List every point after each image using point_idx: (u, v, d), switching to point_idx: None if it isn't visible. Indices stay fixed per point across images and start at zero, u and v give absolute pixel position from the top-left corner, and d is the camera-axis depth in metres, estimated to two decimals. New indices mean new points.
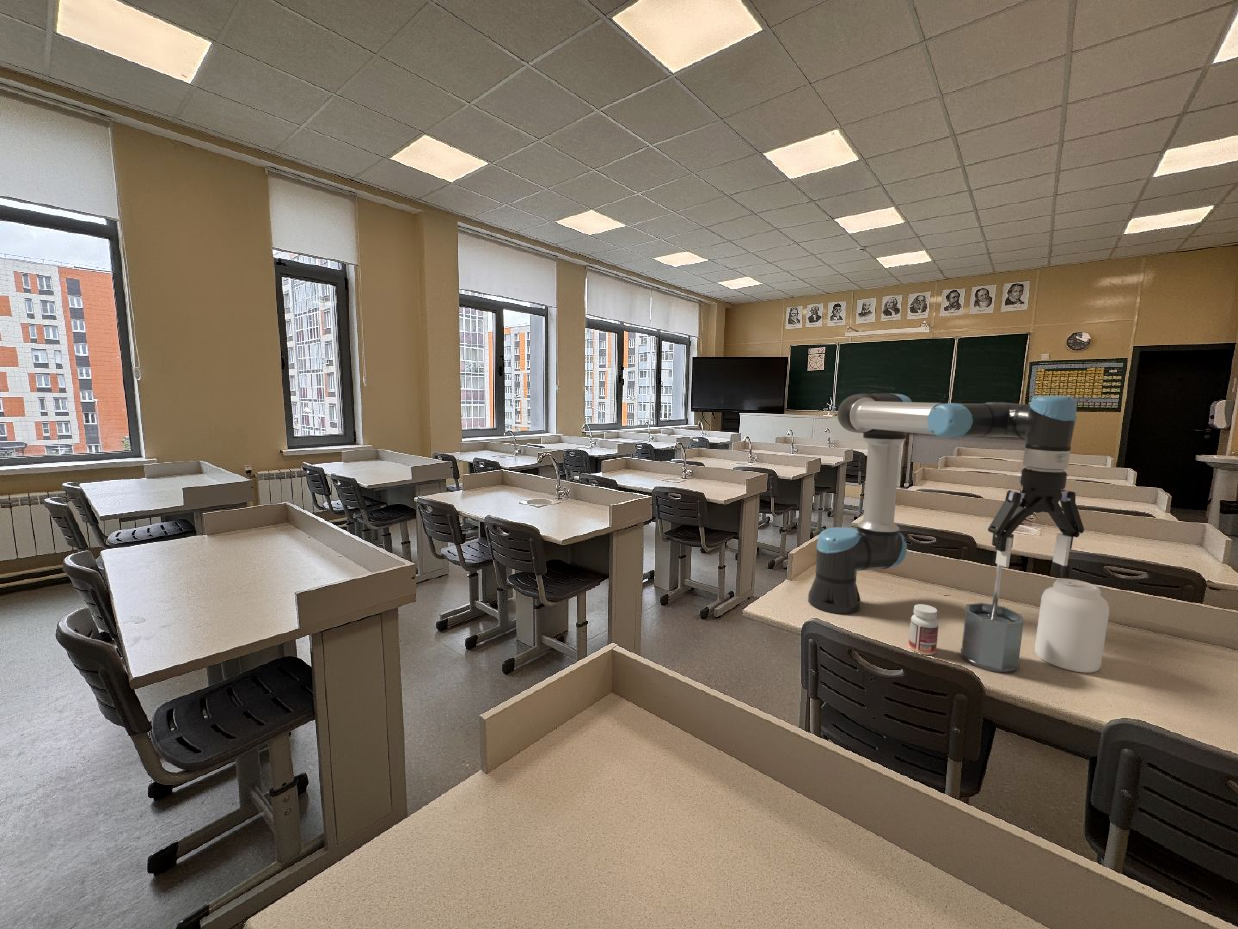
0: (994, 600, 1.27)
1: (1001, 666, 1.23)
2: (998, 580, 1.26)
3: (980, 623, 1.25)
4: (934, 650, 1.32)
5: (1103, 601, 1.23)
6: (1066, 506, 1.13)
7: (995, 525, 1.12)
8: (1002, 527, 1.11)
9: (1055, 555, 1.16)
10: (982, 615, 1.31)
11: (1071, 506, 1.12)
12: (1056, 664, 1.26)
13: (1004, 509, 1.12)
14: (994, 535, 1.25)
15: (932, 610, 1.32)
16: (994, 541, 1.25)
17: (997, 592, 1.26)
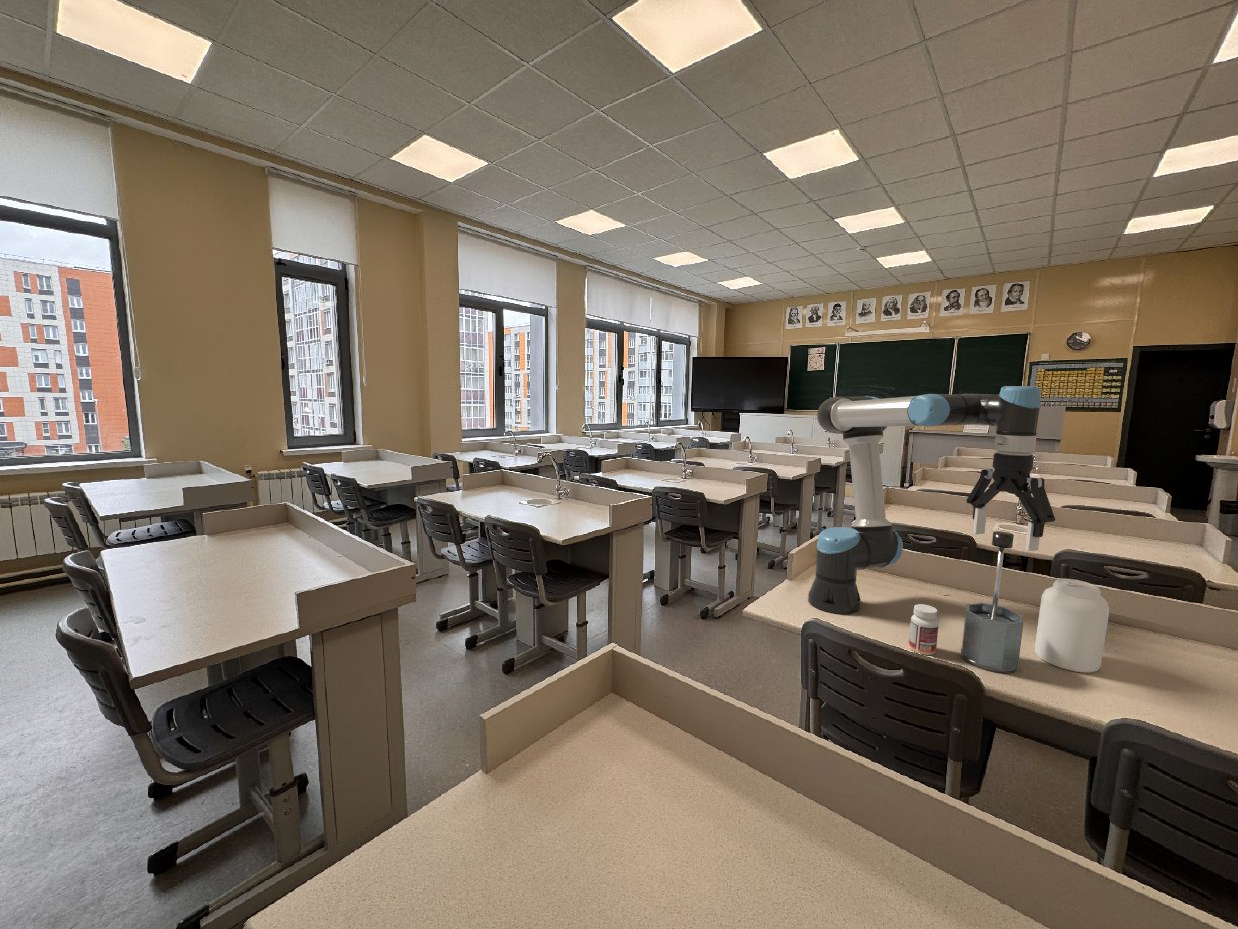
0: (994, 600, 1.27)
1: (1001, 666, 1.23)
2: (998, 580, 1.26)
3: (980, 623, 1.25)
4: (934, 650, 1.32)
5: (1103, 601, 1.23)
6: None
7: None
8: (970, 497, 1.32)
9: None
10: (982, 615, 1.31)
11: (1032, 492, 1.16)
12: (1056, 664, 1.26)
13: None
14: (994, 535, 1.25)
15: (932, 610, 1.32)
16: (994, 541, 1.25)
17: (997, 592, 1.26)
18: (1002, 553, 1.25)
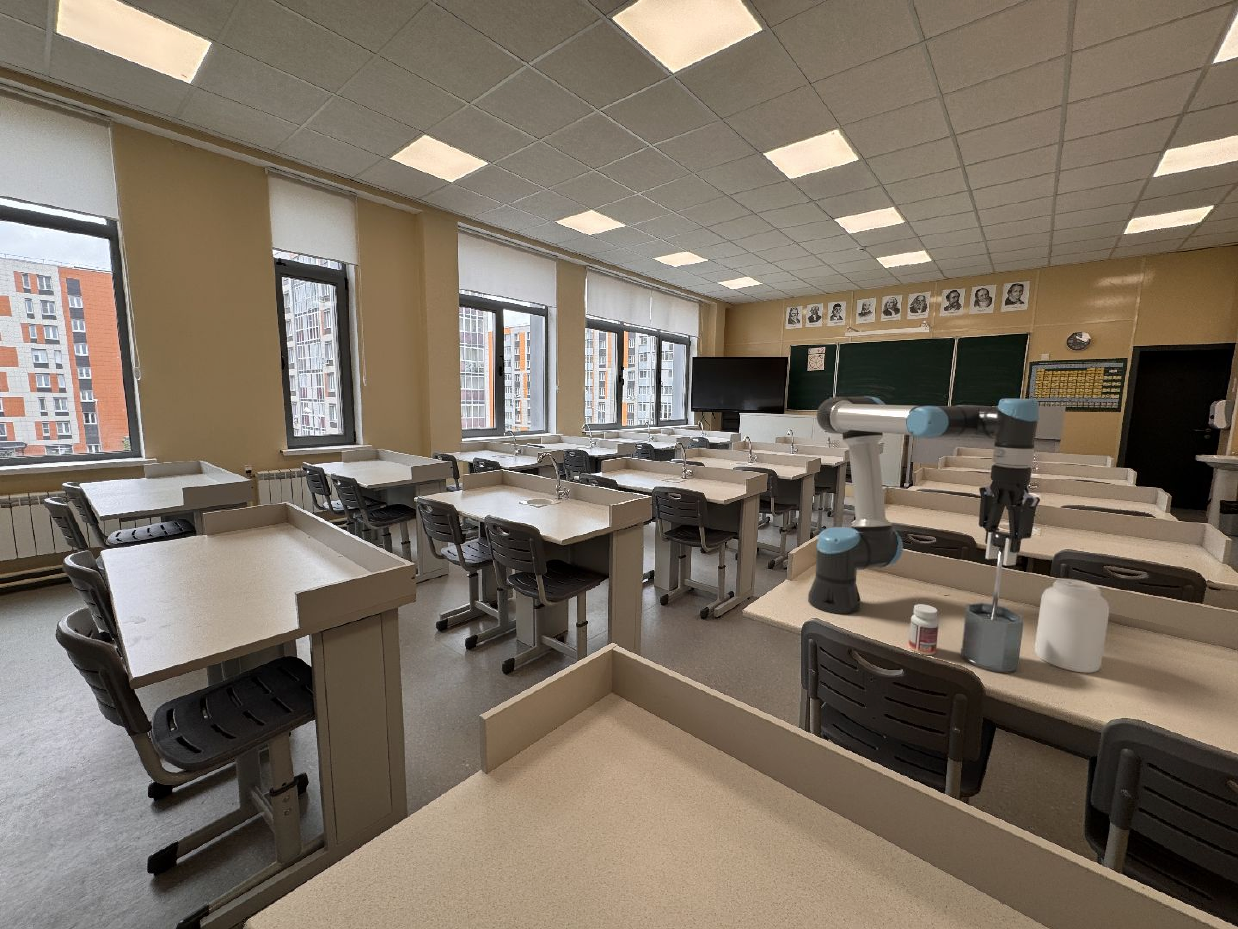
0: (994, 600, 1.27)
1: (1001, 666, 1.23)
2: (998, 580, 1.26)
3: (980, 623, 1.25)
4: (934, 650, 1.32)
5: (1102, 601, 1.23)
6: None
7: None
8: (981, 519, 1.29)
9: None
10: (982, 615, 1.31)
11: (1022, 509, 1.18)
12: (1056, 664, 1.26)
13: None
14: (994, 535, 1.25)
15: (932, 610, 1.32)
16: (994, 541, 1.25)
17: (997, 592, 1.26)
18: (1002, 553, 1.25)
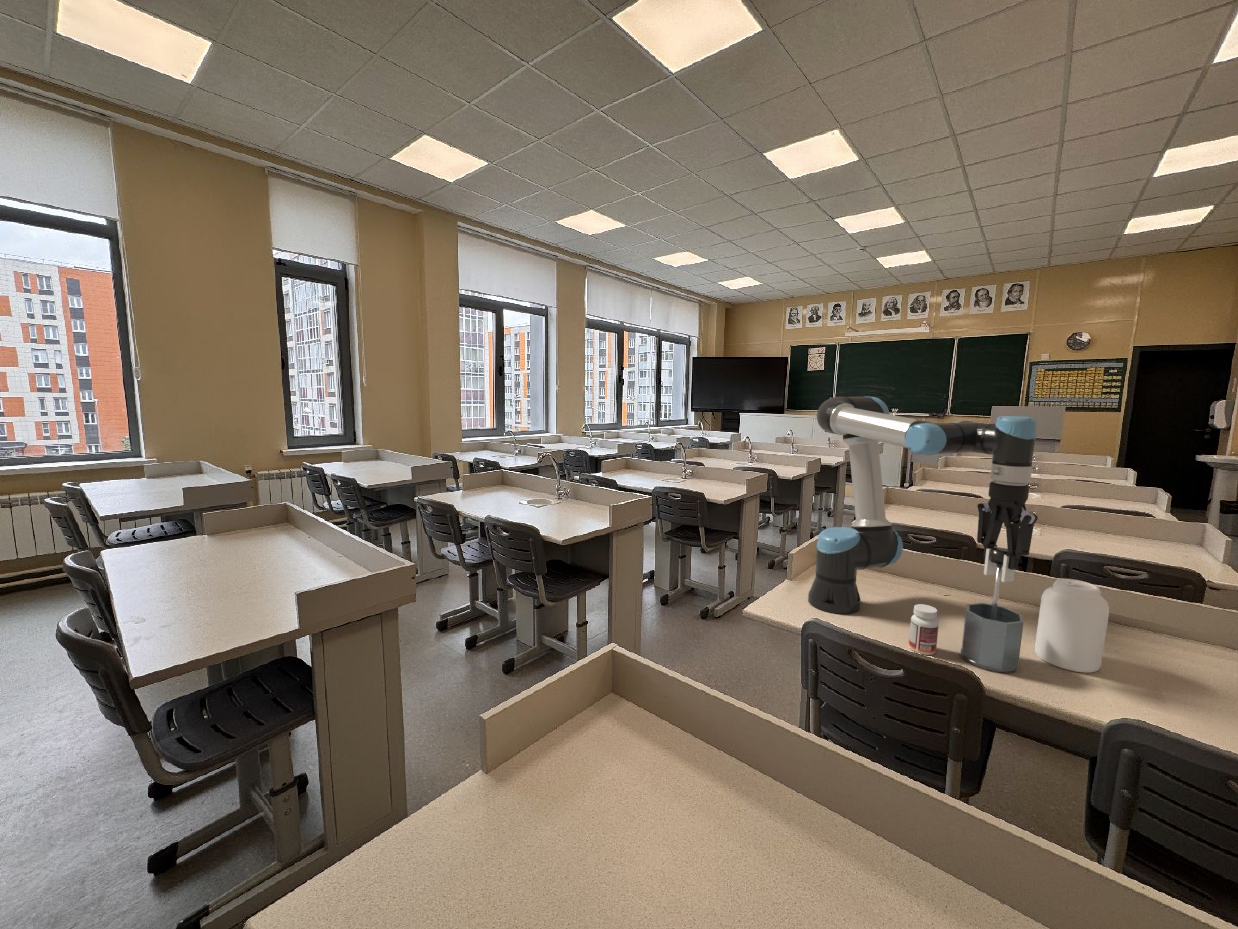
0: (992, 616, 1.27)
1: (1001, 666, 1.23)
2: (996, 596, 1.26)
3: (980, 623, 1.25)
4: (934, 650, 1.32)
5: (1103, 601, 1.23)
6: None
7: None
8: (979, 535, 1.29)
9: None
10: None
11: (1020, 526, 1.19)
12: (1056, 664, 1.26)
13: None
14: (992, 551, 1.25)
15: (932, 610, 1.32)
16: (992, 557, 1.25)
17: (995, 608, 1.27)
18: (1000, 569, 1.25)
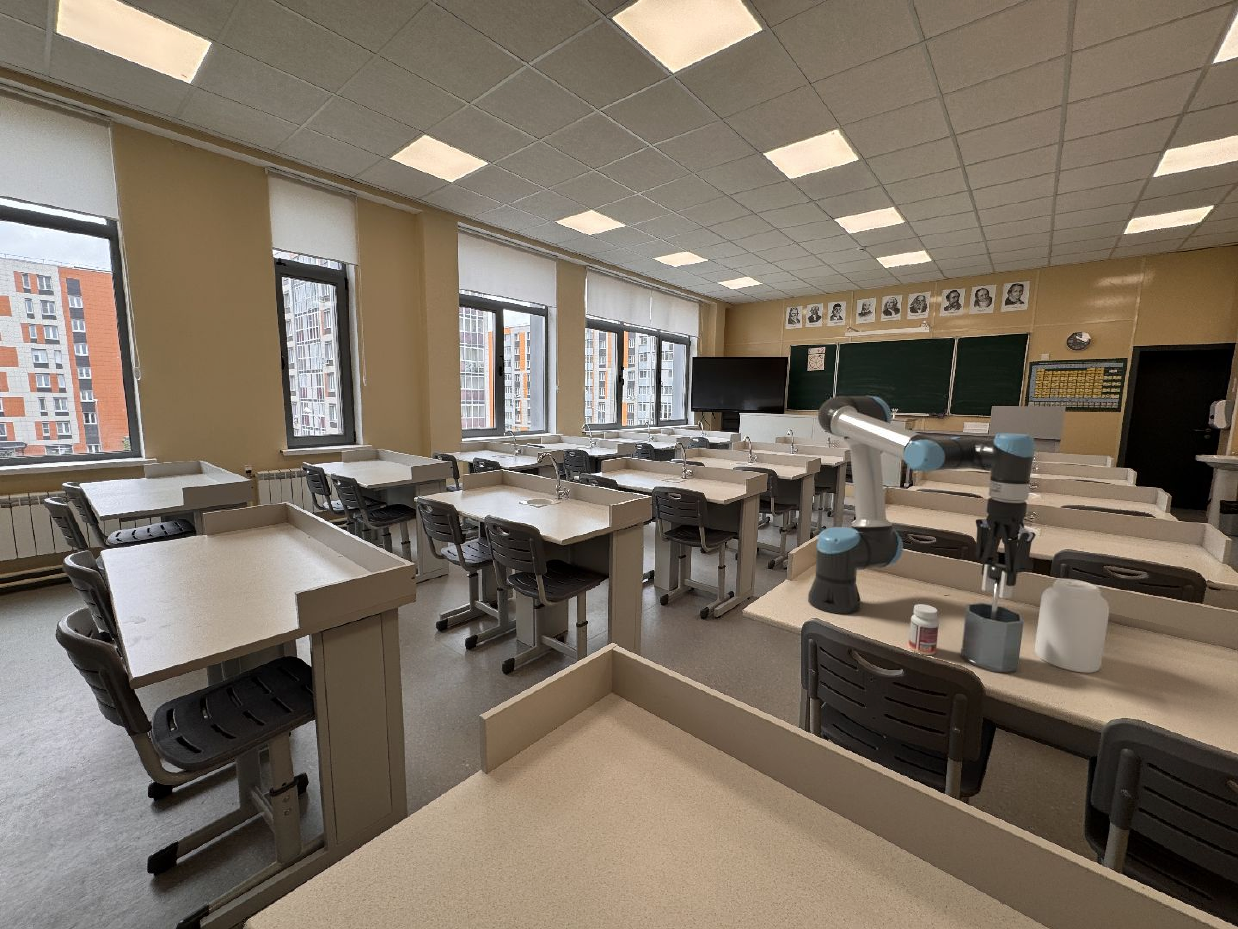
0: None
1: (1001, 666, 1.23)
2: (994, 612, 1.27)
3: (980, 623, 1.25)
4: (934, 650, 1.32)
5: (1103, 601, 1.23)
6: None
7: None
8: (977, 551, 1.30)
9: None
10: None
11: (1018, 543, 1.20)
12: (1056, 664, 1.26)
13: None
14: (990, 568, 1.26)
15: (932, 610, 1.32)
16: (990, 574, 1.26)
17: None
18: (998, 585, 1.26)
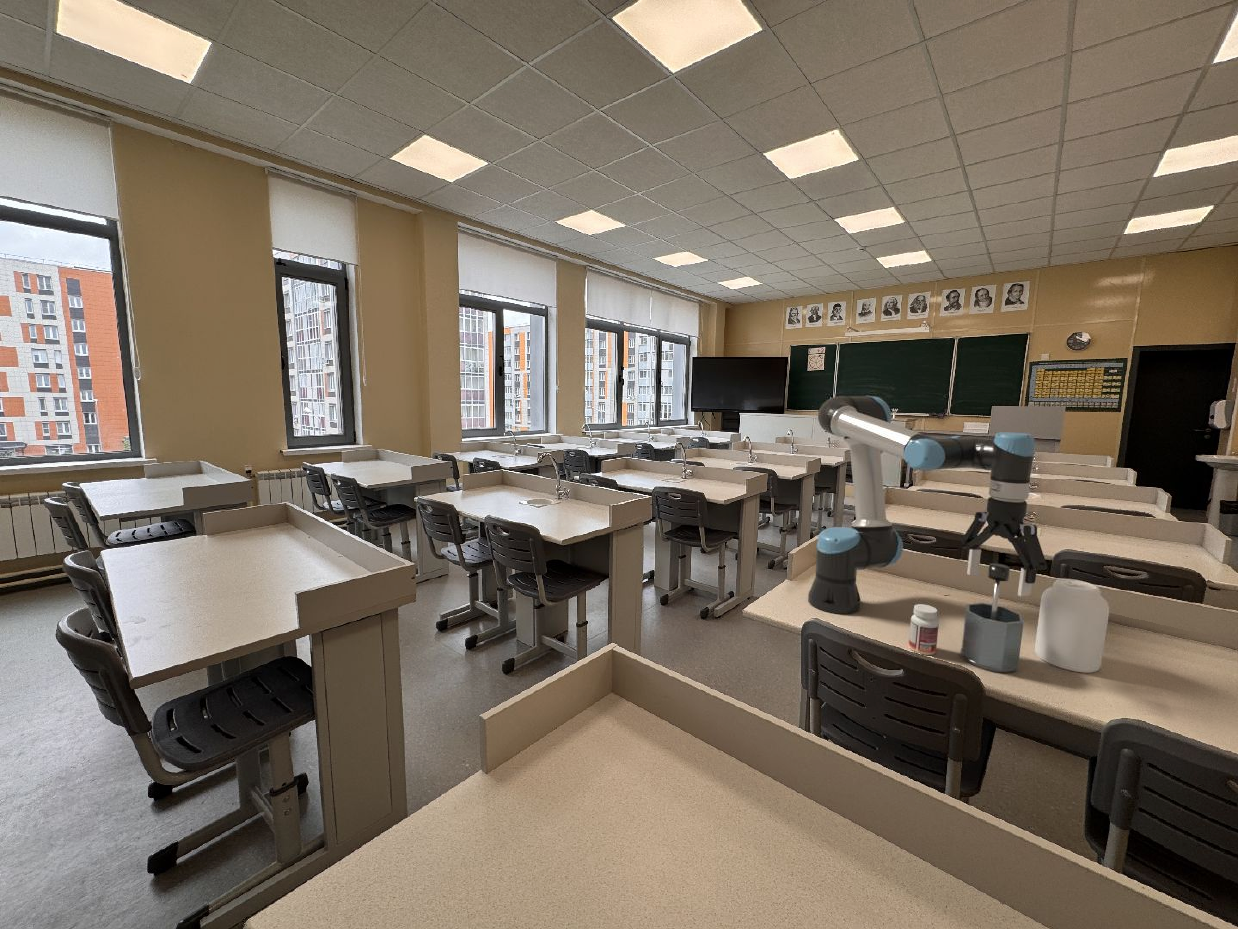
0: None
1: (1001, 666, 1.23)
2: (994, 612, 1.27)
3: (980, 623, 1.25)
4: (934, 650, 1.32)
5: (1103, 601, 1.23)
6: None
7: None
8: (965, 538, 1.33)
9: None
10: None
11: (1025, 539, 1.18)
12: (1056, 664, 1.26)
13: None
14: (990, 568, 1.26)
15: (932, 610, 1.32)
16: (990, 574, 1.26)
17: None
18: (998, 585, 1.26)
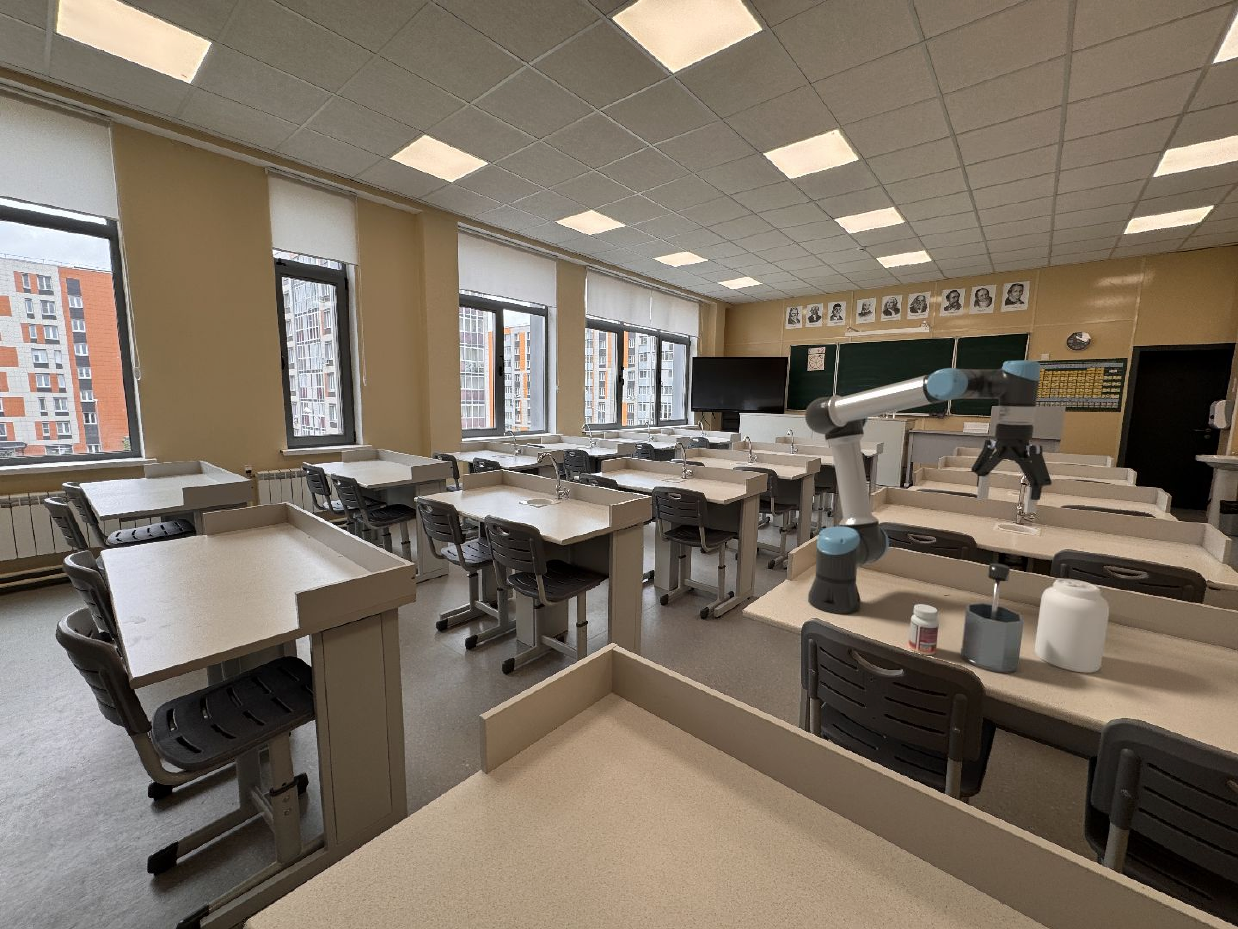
0: None
1: (1001, 666, 1.23)
2: (994, 612, 1.27)
3: (980, 623, 1.25)
4: (934, 650, 1.32)
5: (1103, 601, 1.23)
6: None
7: None
8: (975, 466, 1.41)
9: None
10: None
11: (1030, 458, 1.26)
12: (1056, 664, 1.26)
13: None
14: (990, 568, 1.26)
15: (932, 610, 1.32)
16: (990, 574, 1.26)
17: None
18: (998, 585, 1.26)
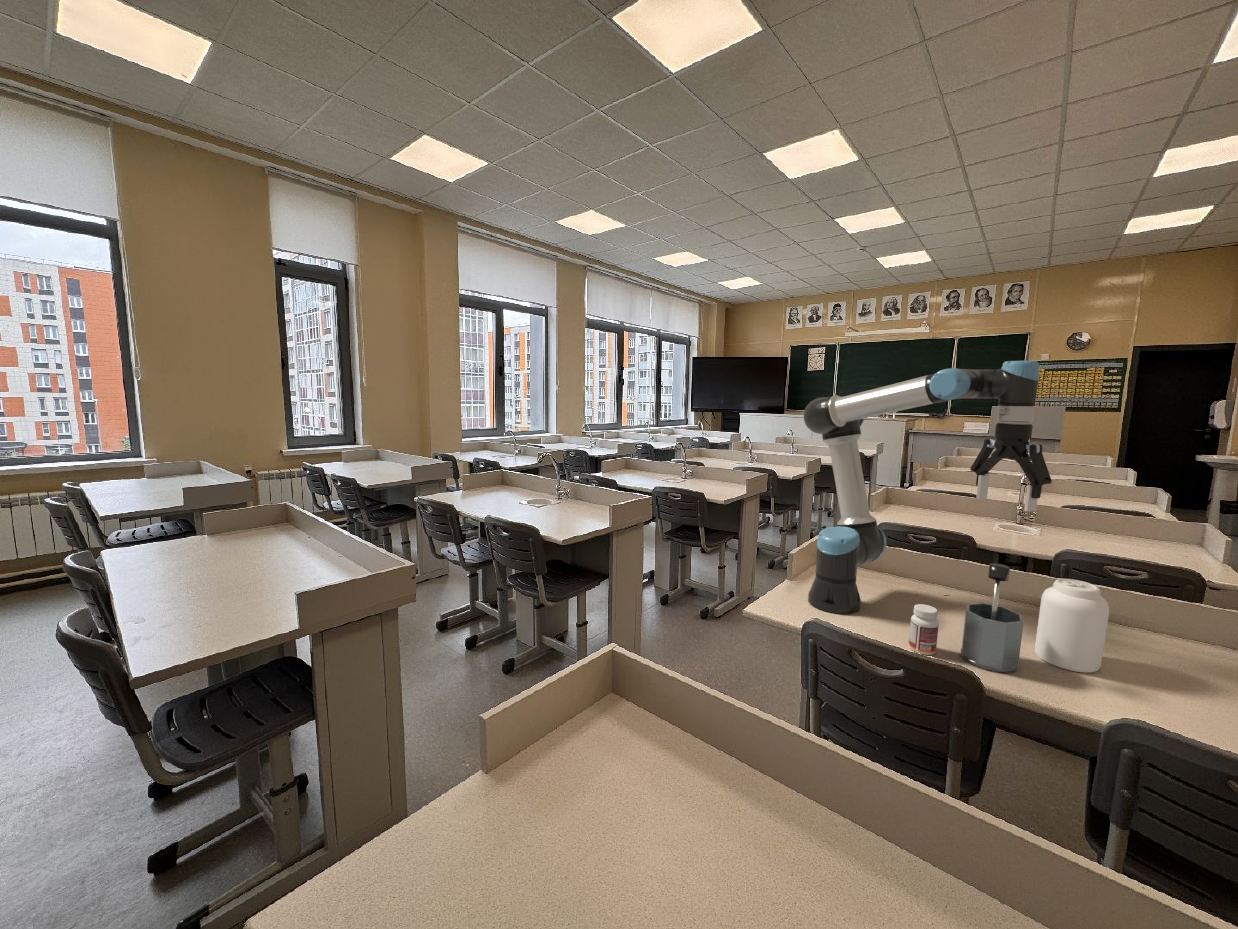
0: None
1: (1001, 666, 1.23)
2: (994, 612, 1.27)
3: (980, 623, 1.25)
4: (934, 650, 1.32)
5: (1103, 601, 1.23)
6: None
7: None
8: (974, 465, 1.43)
9: None
10: None
11: (1031, 457, 1.27)
12: (1056, 664, 1.26)
13: None
14: (990, 568, 1.26)
15: (932, 610, 1.32)
16: (990, 574, 1.26)
17: None
18: (998, 585, 1.26)
